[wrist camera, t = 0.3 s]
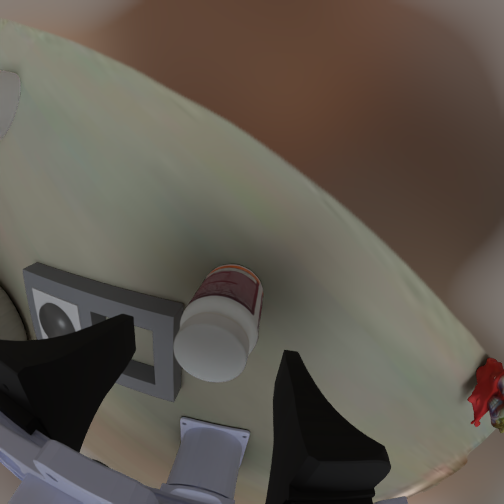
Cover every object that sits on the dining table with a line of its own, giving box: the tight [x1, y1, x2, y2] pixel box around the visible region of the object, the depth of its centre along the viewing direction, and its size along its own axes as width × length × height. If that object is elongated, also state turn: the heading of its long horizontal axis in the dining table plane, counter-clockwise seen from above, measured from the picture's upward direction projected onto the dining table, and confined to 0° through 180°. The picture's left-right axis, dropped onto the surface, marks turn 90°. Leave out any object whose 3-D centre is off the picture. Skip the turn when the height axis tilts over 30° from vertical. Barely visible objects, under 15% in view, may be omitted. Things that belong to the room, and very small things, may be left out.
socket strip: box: [23, 262, 183, 402], centre depth 23 cm, size 10×18×3 cm, turn 81°
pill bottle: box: [173, 264, 263, 382], centre depth 18 cm, size 5×5×8 cm
